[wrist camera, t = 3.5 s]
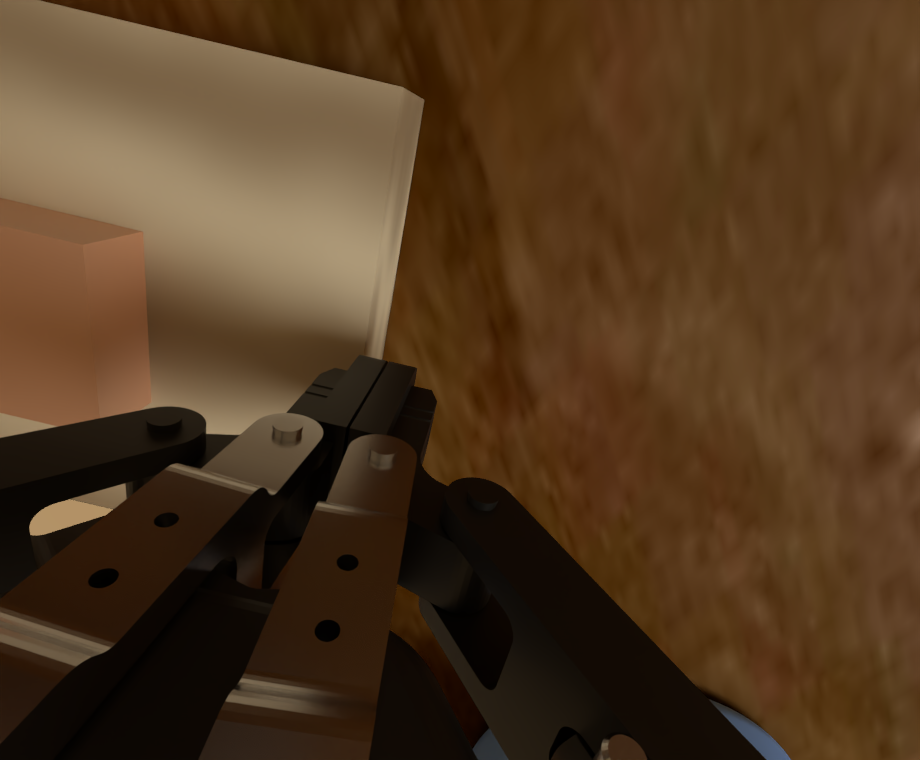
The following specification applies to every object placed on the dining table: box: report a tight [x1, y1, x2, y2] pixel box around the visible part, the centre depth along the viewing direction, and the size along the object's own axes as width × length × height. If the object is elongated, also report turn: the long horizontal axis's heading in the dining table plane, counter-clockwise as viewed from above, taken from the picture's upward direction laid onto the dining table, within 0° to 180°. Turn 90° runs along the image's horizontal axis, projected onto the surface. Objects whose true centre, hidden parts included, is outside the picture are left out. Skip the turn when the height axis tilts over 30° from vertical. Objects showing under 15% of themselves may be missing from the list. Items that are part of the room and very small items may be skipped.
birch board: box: [0, 0, 424, 509], centre depth 15 cm, size 14×18×3 cm
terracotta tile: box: [0, 198, 151, 426], centre depth 13 cm, size 5×5×2 cm
